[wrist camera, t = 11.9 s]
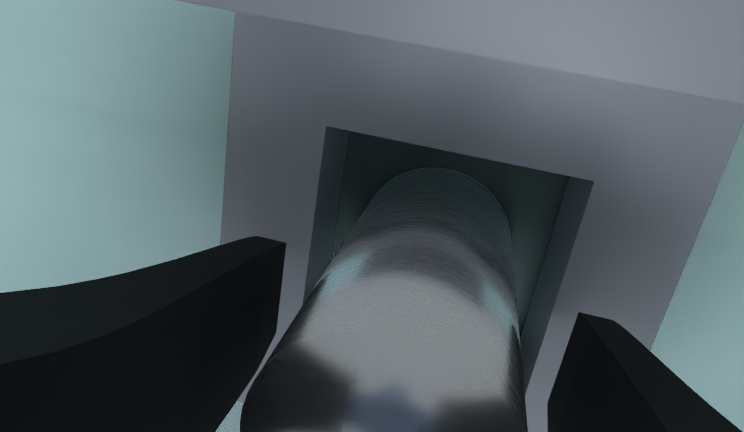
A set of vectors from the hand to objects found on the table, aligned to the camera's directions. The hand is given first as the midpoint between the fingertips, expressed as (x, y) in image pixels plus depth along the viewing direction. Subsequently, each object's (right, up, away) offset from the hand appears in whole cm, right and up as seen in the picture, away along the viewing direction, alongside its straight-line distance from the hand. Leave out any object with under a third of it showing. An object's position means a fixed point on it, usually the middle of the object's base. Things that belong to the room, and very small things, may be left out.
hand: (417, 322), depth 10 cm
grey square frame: (+1, +2, +4) cm, 5 cm away
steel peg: (+1, +1, +4) cm, 5 cm away
